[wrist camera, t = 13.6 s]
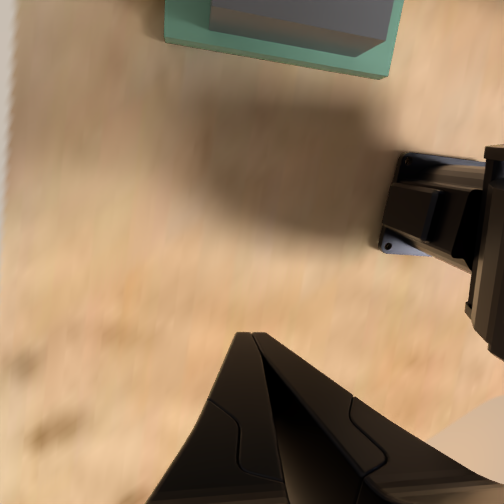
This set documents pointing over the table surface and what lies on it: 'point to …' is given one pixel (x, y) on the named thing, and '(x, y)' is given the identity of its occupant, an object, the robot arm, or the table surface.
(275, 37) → the connector socket
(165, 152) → the table surface
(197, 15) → the board
